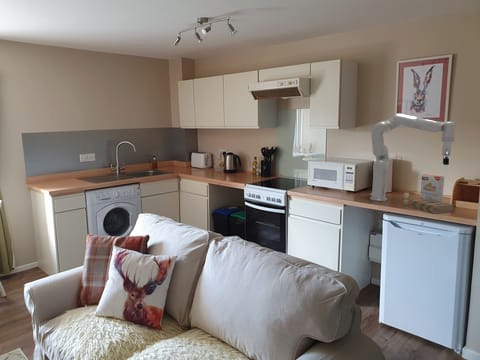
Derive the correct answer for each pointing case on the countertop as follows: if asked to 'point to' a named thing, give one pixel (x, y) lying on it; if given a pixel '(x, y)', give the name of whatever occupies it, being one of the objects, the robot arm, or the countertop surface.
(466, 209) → the countertop surface
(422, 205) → the board
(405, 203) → the peg
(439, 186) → the cracker box
